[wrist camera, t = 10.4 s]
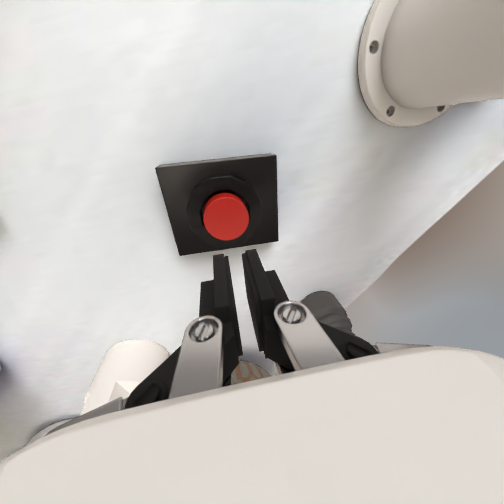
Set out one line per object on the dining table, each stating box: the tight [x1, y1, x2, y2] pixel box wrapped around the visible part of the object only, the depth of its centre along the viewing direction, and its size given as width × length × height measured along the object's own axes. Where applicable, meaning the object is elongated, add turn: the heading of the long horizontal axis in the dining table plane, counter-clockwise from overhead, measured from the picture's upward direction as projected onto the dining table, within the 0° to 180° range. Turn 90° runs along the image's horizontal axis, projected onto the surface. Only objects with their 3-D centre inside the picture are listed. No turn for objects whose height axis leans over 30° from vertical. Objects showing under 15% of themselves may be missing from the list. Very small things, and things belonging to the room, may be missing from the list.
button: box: [203, 193, 249, 240], centre depth 20 cm, size 4×4×2 cm
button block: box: [155, 153, 278, 256], centre depth 22 cm, size 11×9×4 cm
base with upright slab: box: [80, 339, 169, 416], centre depth 28 cm, size 9×9×12 cm
